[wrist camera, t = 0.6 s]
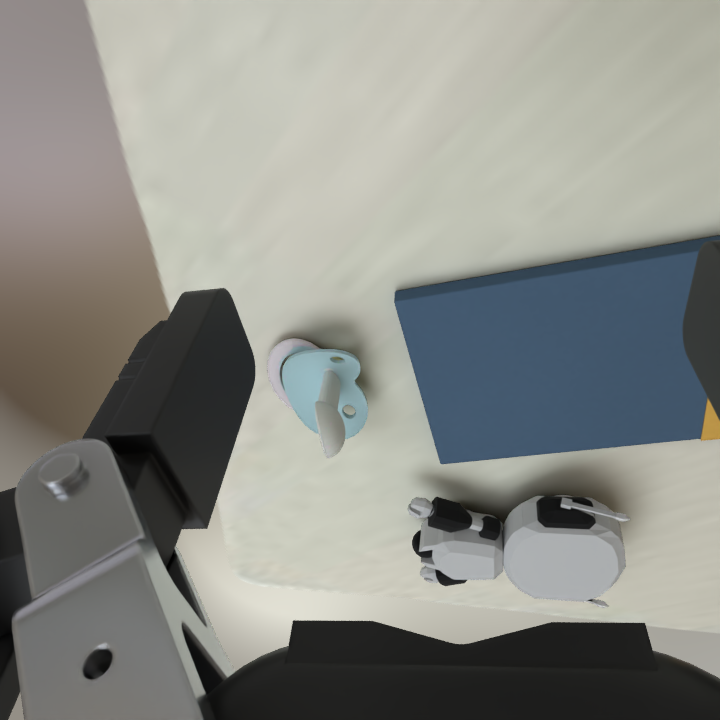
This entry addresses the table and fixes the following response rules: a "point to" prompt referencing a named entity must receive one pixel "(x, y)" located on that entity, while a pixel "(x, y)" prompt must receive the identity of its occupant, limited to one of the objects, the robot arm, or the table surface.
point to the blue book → (559, 356)
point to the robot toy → (524, 546)
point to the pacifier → (319, 389)
